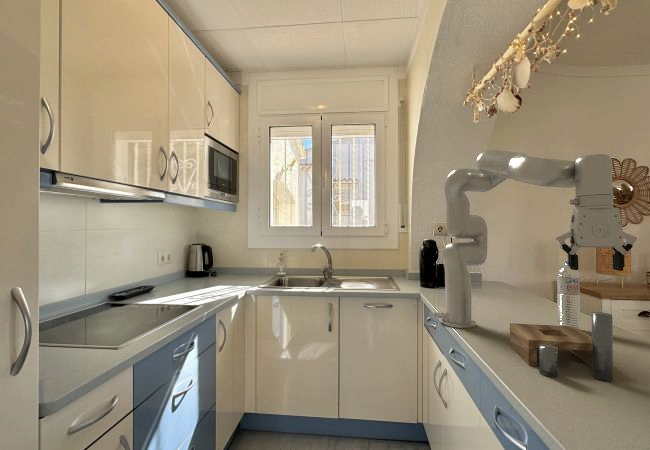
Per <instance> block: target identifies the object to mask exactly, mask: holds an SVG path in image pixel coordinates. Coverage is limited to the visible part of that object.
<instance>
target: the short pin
mask: <svg viewBox="0 0 650 450" xmlns="http://www.w3.org/2000/svg"><path fill="white" fill-rule="evenodd" d="M538 352H539V354H538V355H539V356H538V357H539V360H538V361H539V374H540V375H541V376H544V377H547V378H551V379H552V378H554V379H555V378H558V377H559V349H558V348H557V347H556V346H553V345H548V344H540V345H539V349H538Z"/></svg>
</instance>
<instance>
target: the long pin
mask: <svg viewBox="0 0 650 450" xmlns="http://www.w3.org/2000/svg"><path fill="white" fill-rule="evenodd" d="M613 324H614V323H613V314H611V313H608V312H603V311H602V312H601V311H592V312H591V337H592V367H591V368H592V373H591V374H592V378H593V379H595V380H597V381H601V382H604V383H605V382H606V383H612V382H614V352H613V351H614V349H613V348H614V340H613V339H614V338H613V337H614V336H613V333H614V332H613V326H614V325H613Z"/></svg>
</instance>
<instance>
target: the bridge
mask: <svg viewBox="0 0 650 450" xmlns="http://www.w3.org/2000/svg"><path fill="white" fill-rule="evenodd" d="M540 344H548V345H553V346H556V347H557V348H558V350H567V351H569V352H570V353H572V354H573V355H575V356H576V357H577V358H579V359H580V360H581V361H583V362H584V363H585V364H587V365H588V366H589V367H591V368H592V335H590V334H588V333H586V332H584V331H583V330H581V329H580V330H579V329H577V328H576V327H574V326H558V325H554V324H552V325H551V324H532V323H529V324H528V323H509V345H510V346H509V347H511V348H512V349H513V350H514V351H515V353H517V355H518V356H520V357H521V359H522V360H523V361H524V362H525V363H526V364H527V365H528V366H532V367H533V366H534V367H537V366H538V363H537V361H538V358H537V357H538V356H537V355H538V354H537V353H538V352H537V349H538V348H539V345H540Z"/></svg>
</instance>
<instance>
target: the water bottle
mask: <svg viewBox="0 0 650 450" xmlns="http://www.w3.org/2000/svg"><path fill="white" fill-rule="evenodd" d="M556 276H557V281H556V282H557V283H556V284H557V293H556V295H557V296H556V299H557V300H556V301H557V304H556V305H557V306H556V307H557V310H556V313H557V316H556V317H557V318H556V319H557V321H556V322H557V323H556V324H557V326H574V327H576V328H577V329H579V330H581V295H580V293H581V292H580V286H581V285H580V277H581V273H580V272H579V269H578V270H572V269H570V267H569V266H568V260H565V261H564V265H563V266H561V267H560V268H559V269H558V270H557V272H556Z"/></svg>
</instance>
